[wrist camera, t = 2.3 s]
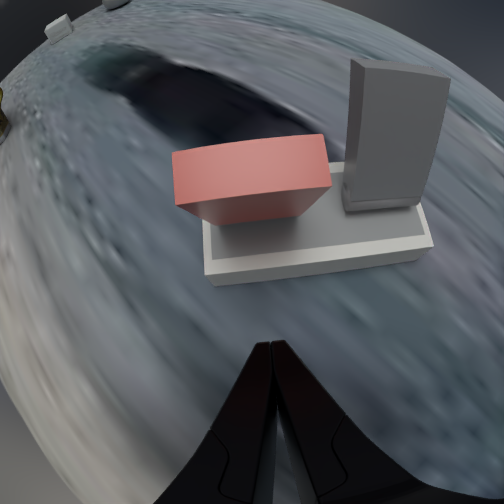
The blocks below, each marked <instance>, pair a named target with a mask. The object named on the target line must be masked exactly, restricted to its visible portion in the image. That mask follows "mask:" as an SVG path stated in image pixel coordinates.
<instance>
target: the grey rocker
mask: <svg viewBox="0 0 504 504" xmlns="http://www.w3.org/2000/svg"><path fill="white" fill-rule="evenodd" d="M450 81H451V79H450V78H449V77H447V76H446V75H444V74H442V73H441V72H439V71H437V70H436V69H434V68H431V67H426V66H420V65H414V64H407V63H399V62H391V61H381V60H370V59H355V58H351V70H350V95H349V113H348V127H347V140H346V151H345V162H344V171H343V180H342V183H343V184H342V189H341V195H342V202H343V206H344V208H345V210H346V211H347V212H348V211H358V210H369V209H381V208H392V207H405V206H416V205H418V204H419V202H420V200H421V196H422V194H423V191H424V188H425V185H426V181H427V178H428V175H429V172H430V168H431V165H432V161H433V158H434V154H435V150H436V147H437V143H438V139H439V135H440V131H441V126H442V122H443V118H444V113H445V108H446V103H447V98H448V93H449V87H450Z"/></svg>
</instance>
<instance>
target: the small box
mask: <svg viewBox="0 0 504 504" xmlns="http://www.w3.org/2000/svg"><path fill="white" fill-rule="evenodd" d="M72 31H73V26H72V24H71V22H70V20H69V18H68V16H67V14H65V15H63V16H62V17H60V18H58V19H57V20H55V21H54V22H52V23H50V24H49V25H47V27H46V29H45V33H46V35H47V37H48V39H49V40H50V42H51V44H52V45H53V44H54V43H56V42H58V41H59V40H61V39H62V38H64V37H66V36H67V35H69V34H71V33H72Z"/></svg>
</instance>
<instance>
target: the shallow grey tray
mask: <svg viewBox="0 0 504 504" xmlns="http://www.w3.org/2000/svg"><path fill="white" fill-rule="evenodd" d="M328 164H329V169H330V175H331V181H332V187H331V188H330V189H329V190H328V191H327V192H325V193H324V194H323V195H322V196H321V197H320V198H319V199H318V200H317V201H316V202H315V203H314V204H313V205H312V206H310V207H309V208H308V209H307V210H306V211H305V212H304V213H303V214H302V215H301V216H299V217H290V218H281V219H272V220H263V221H255V222H247V223H239V224H231V225H223V226H215V225H213V224H211V223H209V222H207V221H205V220H203V247H204V268H205V276H206V277H207V278H208V279H209V281H210V282H211V283H212V284H213V285H214V287H216V286H225V285H235V284H244V283H253V282H261V281H270V280H278V279H287V278H295V277H303V276H310V275H318V274H326V273H333V272H341V271H348V270H355V269H362V268H369V267H376V266H383V265H389V264H396V263H402V262H409V261H415V260H417V259H419V258H420V257H421V256H422V255H424V254H425V253H426V252H427V251H429V250H430V249H431V248H432V247H434V245H433V241H432V238H431V234H430V231H429V228H428V225H427V221H426V218H425V215H424V212H423V209H422V206H421V203H420V202H419V204H418V205H416V206H405V207H392V208H381V209H369V210H358V211H348V212H347V211H346V210H345V208H344V206H343V202H342V195H341V189H342V184H343V183H342V180H343V171H344V162H335V163H328Z"/></svg>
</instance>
